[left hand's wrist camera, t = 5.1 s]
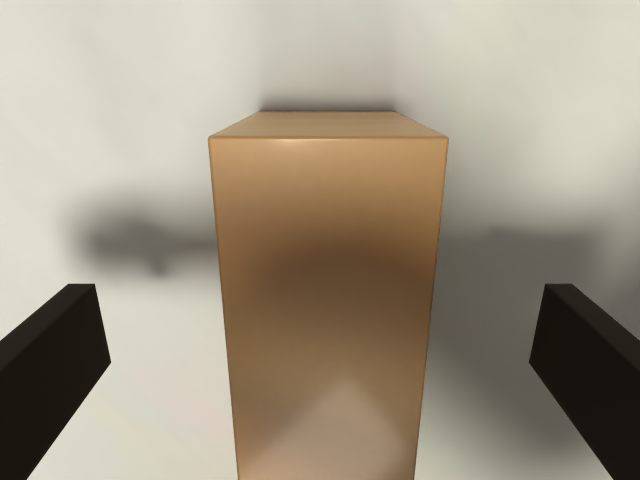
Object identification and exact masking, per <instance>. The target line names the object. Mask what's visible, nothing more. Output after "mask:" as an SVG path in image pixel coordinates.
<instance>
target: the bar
mask: <svg viewBox="0 0 640 480" xmlns="http://www.w3.org/2000/svg"><path fill="white" fill-rule="evenodd" d="M448 142H449V139H448V137H447V136H445V135H443V134H441V133H438V132H436V131H434V130H432V129H430V128H428V127H426V126H424V125H422V124H420V123H417V122H415V121H413V120H411V119H409V118H407V117H405V116H403V115H401V114H399V113H396V112H330V111H259V112H257V113H255V114H253V115H251V116H249V117H247V118H245V119H243V120H241V121H239V122H237V123H235V124H233V125H231V126H229V127H227V128H225V129H223V130H221V131H219V132H217V133H215V134H213V135H211V136H209V137H208V146H209V158H210V169H211V180H212V191H213V203H214V214H215V225H216V237H217V248H218V259H219V270H220V282H221V293H222V304H223V315H224V327H225V338H226V349H227V360H228V372H229V383H230V394H231V406H232V417H233V428H234V439H235V451H236V462H237V473H238V480H414V475H415V465H416V455H417V446H418V436H419V426H420V416H421V406H422V397H423V387H424V377H425V367H426V357H427V348H428V338H429V328H430V318H431V308H432V299H433V289H434V279H435V269H436V259H437V250H438V240H439V230H440V220H441V210H442V201H443V191H444V181H445V171H446V161H447V151H448Z"/></svg>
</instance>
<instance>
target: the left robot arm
mask: <svg viewBox="0 0 640 480" xmlns="http://www.w3.org/2000/svg"><path fill="white" fill-rule="evenodd" d="M110 363H111V360H110V355H109V350H108V345H107V340H106V336H105V331H104V326H103V321H102V316H101V312H100V307H99V302H98V297H97V292H96V288H95V284H68V285H66V286H65V287H64V288H63V289H62V290H60V291H59V292H58V293H57V294H56V295H54V296H53V297H52V298H51V299H50V300H48V301H47V302H46V303H45V304H44V305H42V306H41V307H40V308H39V309H38V310H37V311H35V312H34V313H33V314H32V315H31V316H29V317H28V318H27V319H26V320H25V321H23V322H22V323H21V324H20V325H19V326H17V327H16V328H15V329H14V330H13V331H11V332H10V333H9V334H8V335H7V336H5V337H4V338H3V339H2V340H1V341H0V480H27V478H28V477H29V476H30V474H31V473H32V471H33V470H34V469H35V467H36V466H37V465H38V463H39V462H40V460H41V459H42V458H43V456H44V455H45V453H46V452H47V451H48V449H49V448H50V446H51V445H52V444H53V442H54V441H55V440H56V438H57V437H58V435H59V434H60V433H61V431H62V430H63V428H64V427H65V426H66V424H67V423H68V422H69V420H70V419H71V417H72V416H73V415H74V413H75V412H76V410H77V409H78V408H79V406H80V405H81V404H82V402H83V401H84V399H85V398H86V397H87V395H88V394H89V392H90V391H91V390H92V388H93V387H94V386H95V384H96V383H97V381H98V380H99V379H100V377H101V376H102V374H103V373H104V372H105V370H106V369H107V367H108V366H109V365H110ZM529 363H530V365H531V366H532V368H533V369H534V370H535V372H536V373H537V374H538V376H539V377H540V379H541V380H542V381H543V383H544V384H545V386H546V387H547V388H548V390H549V391H550V392H551V394H552V395H553V397H554V398H555V399H556V401H557V402H558V404H559V405H560V406H561V408H562V409H563V410H564V412H565V413H566V415H567V416H568V417H569V419H570V420H571V422H572V423H573V424H574V426H575V427H576V428H577V430H578V431H579V433H580V434H581V435H582V437H583V438H584V440H585V441H586V442H587V444H588V445H589V446H590V448H591V449H592V451H593V452H594V453H595V455H596V456H597V458H598V459H599V460H600V462H601V463H602V465H603V466H604V467H605V469H606V470H607V471H608V473H609V474H610V476H611V477H612V478H613V480H640V341H639V340H638V339H637V338H636V337H635V336H633V335H632V334H631V333H630V332H629V331H627V330H626V329H625V328H624V327H623V326H621V325H620V324H619V323H618V322H617V321H615V320H614V319H613V318H612V317H611V316H609V315H608V314H607V313H606V312H605V311H603V310H602V309H601V308H600V307H599V306H598V305H596V304H595V303H594V302H593V301H592V300H590V299H589V298H588V297H587V296H586V295H584V294H583V293H582V292H581V291H580V290H578V289H577V288H576V287H575V286H574V285H572V284H545V288H544V292H543V297H542V302H541V307H540V312H539V316H538V321H537V326H536V331H535V336H534V340H533V345H532V350H531V355H530V360H529Z"/></svg>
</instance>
